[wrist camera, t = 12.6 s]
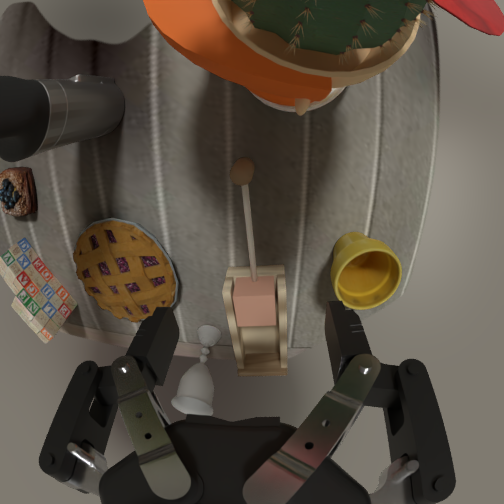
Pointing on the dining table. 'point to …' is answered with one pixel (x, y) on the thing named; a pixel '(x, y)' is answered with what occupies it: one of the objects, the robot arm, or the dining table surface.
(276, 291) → the light wooden box
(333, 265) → the plant pot
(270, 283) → the pull block
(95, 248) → the pie
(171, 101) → the dining table surface
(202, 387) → the chalice
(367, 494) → the robot arm
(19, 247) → the stack of blocks
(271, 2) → the potted cactus
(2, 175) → the pastry
